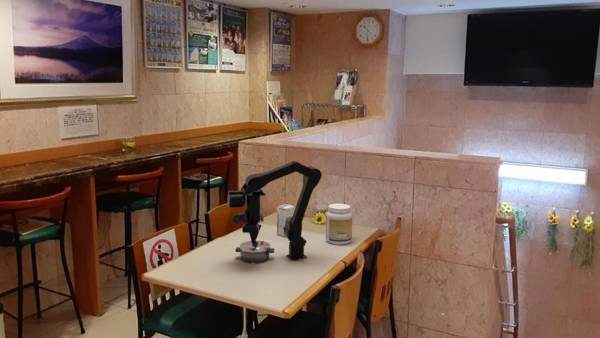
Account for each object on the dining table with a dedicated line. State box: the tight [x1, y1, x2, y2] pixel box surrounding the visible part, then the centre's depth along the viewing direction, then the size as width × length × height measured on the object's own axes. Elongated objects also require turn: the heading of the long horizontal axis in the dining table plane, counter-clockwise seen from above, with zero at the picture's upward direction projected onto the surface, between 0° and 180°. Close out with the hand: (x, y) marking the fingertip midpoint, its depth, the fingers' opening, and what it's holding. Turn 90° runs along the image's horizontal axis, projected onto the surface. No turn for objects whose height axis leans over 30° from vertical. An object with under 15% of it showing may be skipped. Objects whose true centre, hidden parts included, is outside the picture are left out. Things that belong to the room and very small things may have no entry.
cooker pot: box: [235, 246, 275, 264], centre depth 209 cm, size 13×14×4 cm
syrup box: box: [276, 203, 295, 238], centre depth 240 cm, size 6×6×14 cm
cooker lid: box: [239, 240, 271, 253], centre depth 208 cm, size 13×13×3 cm
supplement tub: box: [325, 203, 353, 246], centre depth 231 cm, size 12×12×17 cm
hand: (253, 243), depth 204 cm, fingers closed
